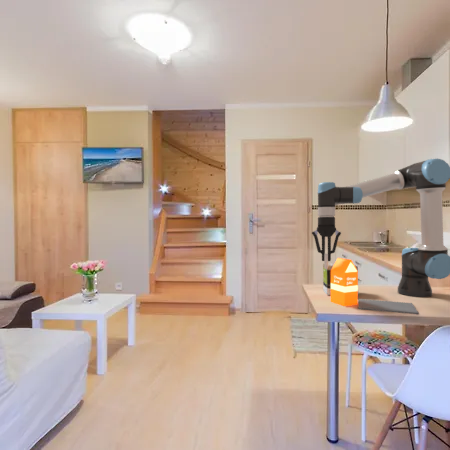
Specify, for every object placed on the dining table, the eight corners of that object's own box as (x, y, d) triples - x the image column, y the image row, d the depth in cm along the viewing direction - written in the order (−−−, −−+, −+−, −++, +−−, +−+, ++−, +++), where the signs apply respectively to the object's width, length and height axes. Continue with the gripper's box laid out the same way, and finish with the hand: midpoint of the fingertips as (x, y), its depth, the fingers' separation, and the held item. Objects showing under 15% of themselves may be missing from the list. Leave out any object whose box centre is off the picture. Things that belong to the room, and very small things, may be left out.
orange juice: (344, 306, 145) (344, 260, 145) (330, 301, 154) (330, 258, 153) (358, 304, 149) (358, 259, 148) (343, 299, 157) (343, 257, 156)
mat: (411, 304, 148) (411, 303, 148) (418, 314, 134) (418, 312, 134) (358, 300, 156) (358, 298, 156) (358, 308, 141) (358, 307, 141)
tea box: (352, 291, 174) (352, 263, 174) (358, 296, 164) (358, 266, 164) (322, 291, 175) (323, 262, 175) (326, 295, 165) (326, 265, 165)
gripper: (341, 216, 154) (341, 267, 155) (312, 216, 159) (312, 266, 159) (341, 216, 147) (341, 270, 148) (310, 216, 152) (310, 268, 152)
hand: (326, 268), depth 154 cm, fingers closed
